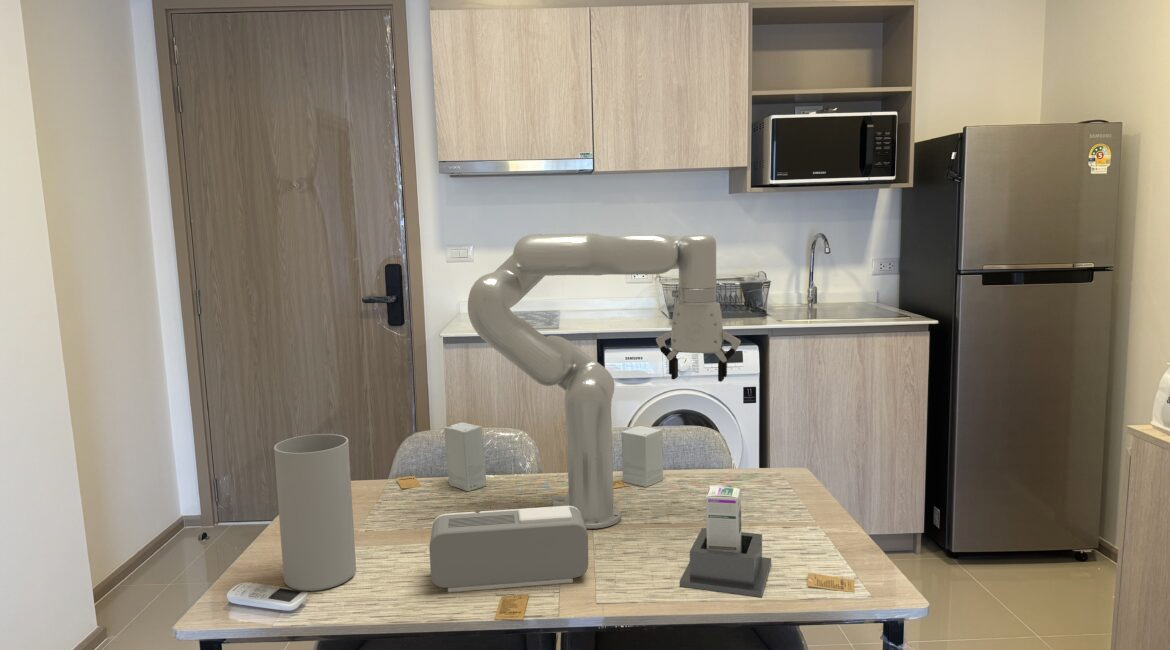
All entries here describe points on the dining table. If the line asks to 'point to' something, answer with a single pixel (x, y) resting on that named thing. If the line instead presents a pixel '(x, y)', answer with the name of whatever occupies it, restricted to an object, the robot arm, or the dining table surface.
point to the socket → (728, 567)
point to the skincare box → (465, 456)
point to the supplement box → (642, 456)
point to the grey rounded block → (508, 548)
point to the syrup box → (723, 518)
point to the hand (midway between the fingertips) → (697, 379)
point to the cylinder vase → (315, 511)
